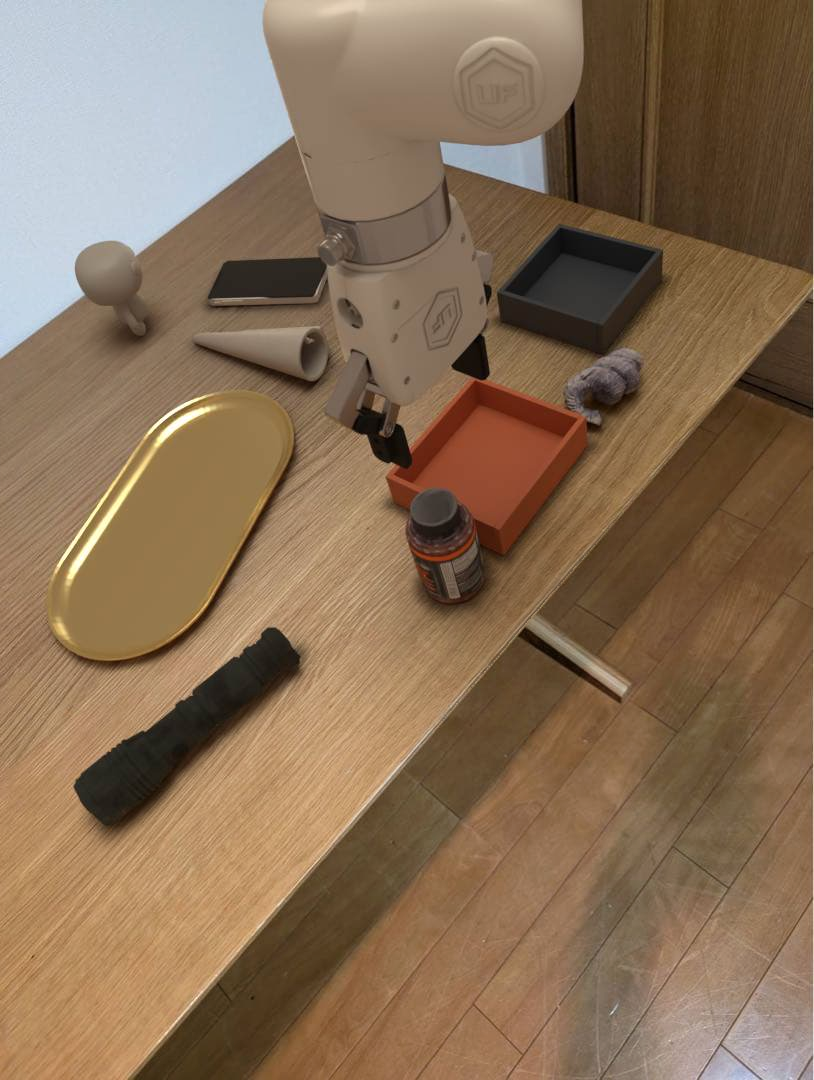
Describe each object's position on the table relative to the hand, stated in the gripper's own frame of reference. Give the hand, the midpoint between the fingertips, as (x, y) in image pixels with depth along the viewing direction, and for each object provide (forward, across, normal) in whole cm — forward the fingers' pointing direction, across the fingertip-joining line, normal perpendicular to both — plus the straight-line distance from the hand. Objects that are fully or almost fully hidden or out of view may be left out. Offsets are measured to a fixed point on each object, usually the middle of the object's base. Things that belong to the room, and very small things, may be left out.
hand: (433, 414), depth 63 cm
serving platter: (+21, -10, +30) cm, 38 cm away
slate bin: (+20, +36, +10) cm, 43 cm away
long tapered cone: (+21, +11, +40) cm, 46 cm away
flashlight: (+21, -26, +10) cm, 35 cm away
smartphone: (+21, +23, +48) cm, 57 cm away
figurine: (+21, +9, +58) cm, 63 cm away
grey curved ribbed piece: (+20, +24, 0) cm, 32 cm away
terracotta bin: (+20, +10, +4) cm, 23 cm away
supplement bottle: (+21, -2, 0) cm, 21 cm away
